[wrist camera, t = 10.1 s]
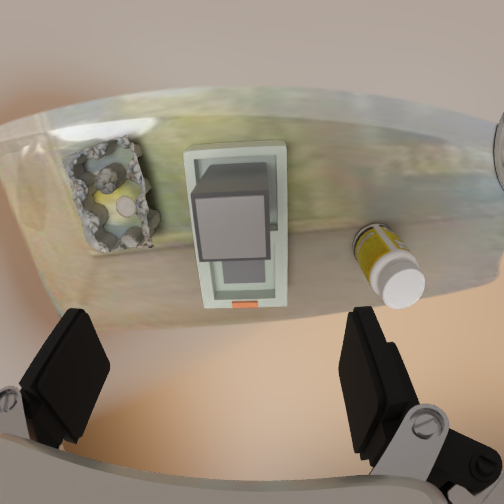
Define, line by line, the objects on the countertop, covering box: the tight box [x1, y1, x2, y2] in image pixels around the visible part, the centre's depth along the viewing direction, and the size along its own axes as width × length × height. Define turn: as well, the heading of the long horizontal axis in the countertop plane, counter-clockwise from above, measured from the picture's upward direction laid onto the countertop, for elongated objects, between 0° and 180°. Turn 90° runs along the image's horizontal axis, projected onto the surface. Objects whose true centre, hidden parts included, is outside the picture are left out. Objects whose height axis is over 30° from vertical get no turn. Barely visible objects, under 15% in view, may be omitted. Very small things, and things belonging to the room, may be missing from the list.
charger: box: [190, 162, 271, 262], centre depth 23 cm, size 5×5×8 cm
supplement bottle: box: [353, 224, 425, 309], centre depth 27 cm, size 5×5×8 cm
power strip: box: [183, 140, 288, 308], centre depth 28 cm, size 15×8×4 cm, turn 3°
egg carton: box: [63, 135, 161, 252], centre depth 27 cm, size 11×8×4 cm
